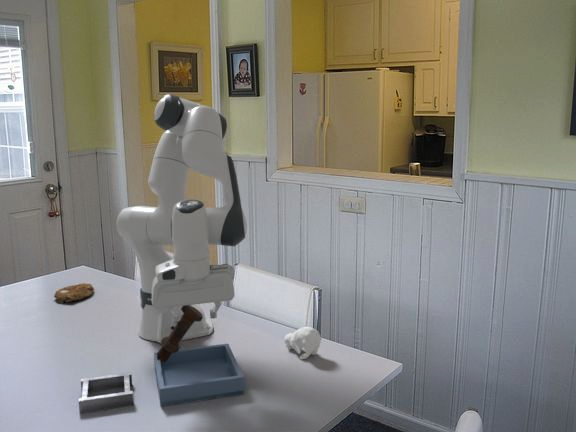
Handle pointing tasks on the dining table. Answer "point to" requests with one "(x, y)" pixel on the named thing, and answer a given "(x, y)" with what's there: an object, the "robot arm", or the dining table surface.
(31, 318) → the dining table surface
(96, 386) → the bracket
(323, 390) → the dining table surface
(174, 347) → the bolt
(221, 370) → the tray
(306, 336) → the white figurine
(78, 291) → the decorative rock
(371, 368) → the dining table surface
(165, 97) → the robot arm
